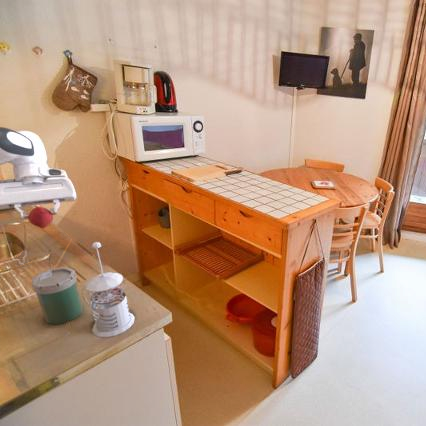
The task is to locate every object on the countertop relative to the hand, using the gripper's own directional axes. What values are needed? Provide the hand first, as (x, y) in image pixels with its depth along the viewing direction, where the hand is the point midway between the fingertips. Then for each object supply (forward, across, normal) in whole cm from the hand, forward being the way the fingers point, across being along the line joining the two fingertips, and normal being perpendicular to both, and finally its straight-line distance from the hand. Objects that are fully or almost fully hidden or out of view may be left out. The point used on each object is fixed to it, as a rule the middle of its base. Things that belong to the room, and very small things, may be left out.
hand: (40, 215), depth 100 cm
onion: (+3, 0, +4) cm, 5 cm away
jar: (+34, +2, -7) cm, 34 cm away
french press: (+41, +12, -15) cm, 45 cm away
